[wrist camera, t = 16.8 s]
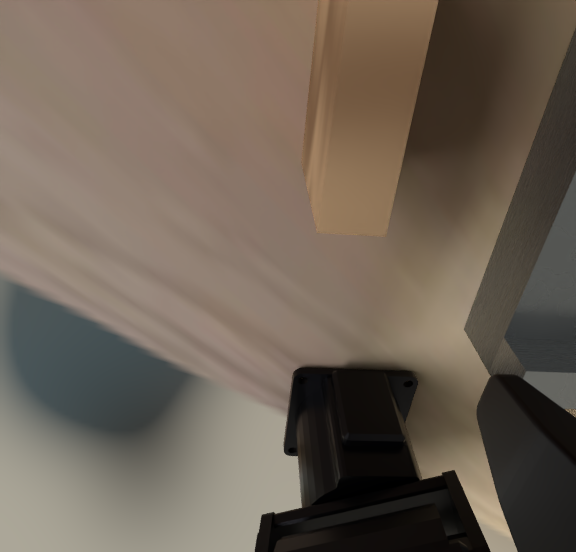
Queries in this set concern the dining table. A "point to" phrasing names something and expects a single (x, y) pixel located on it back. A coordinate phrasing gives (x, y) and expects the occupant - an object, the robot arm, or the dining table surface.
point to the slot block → (537, 261)
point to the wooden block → (362, 108)
